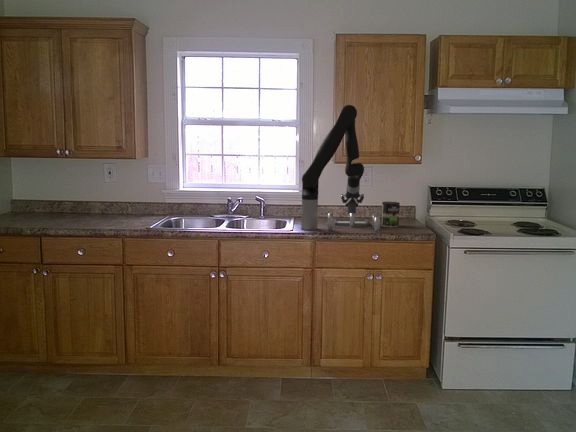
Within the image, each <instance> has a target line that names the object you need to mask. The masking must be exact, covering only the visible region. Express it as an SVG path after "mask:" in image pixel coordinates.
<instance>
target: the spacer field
mask: <svg viewBox="0 0 576 432" xmlns="http://www.w3.org/2000/svg"><path fill="white" fill-rule="evenodd" d="M378 215H379V214H378V213H372V215H371V216H372V217H371V219H372V222H371V228H372V229H374V231H377V232H376V233H379V232H378V231H381V230H380V229H381V217H379V216H378ZM349 219H350V226H349V228H355V227H356V226H355V219H356V214H355V213H350V214H349ZM374 231H373V232H374ZM327 232H334V212H333V213H332V212H329V213H328V212H327Z"/></svg>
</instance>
